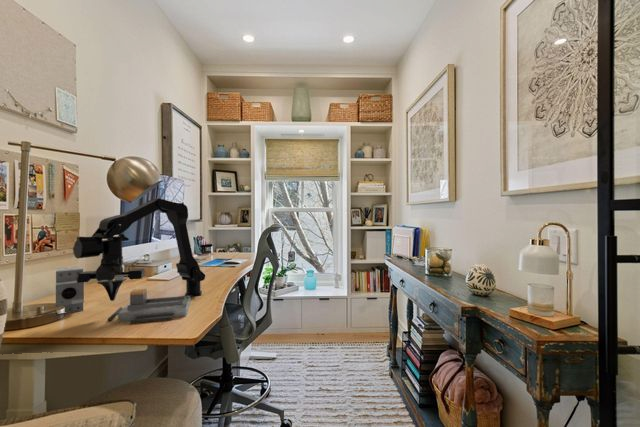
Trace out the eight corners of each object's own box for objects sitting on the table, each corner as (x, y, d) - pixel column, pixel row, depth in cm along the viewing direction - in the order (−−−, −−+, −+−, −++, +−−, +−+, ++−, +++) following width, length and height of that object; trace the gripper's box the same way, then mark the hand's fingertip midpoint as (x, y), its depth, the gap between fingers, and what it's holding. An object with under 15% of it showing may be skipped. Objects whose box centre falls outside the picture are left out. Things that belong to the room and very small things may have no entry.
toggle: (134, 302, 110) (134, 289, 110) (146, 301, 112) (146, 288, 112) (130, 306, 106) (130, 292, 106) (143, 305, 107) (143, 291, 107)
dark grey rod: (119, 310, 112) (119, 307, 112) (123, 310, 112) (123, 307, 112) (107, 321, 101) (107, 317, 101) (111, 321, 101) (111, 317, 101)
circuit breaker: (55, 319, 103) (55, 274, 103) (56, 309, 114) (56, 268, 114) (84, 314, 108) (83, 271, 108) (82, 305, 119) (82, 266, 119)
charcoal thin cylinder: (129, 324, 98) (129, 320, 98) (130, 323, 99) (130, 319, 99) (171, 320, 102) (171, 316, 102) (172, 319, 103) (172, 315, 103)
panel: (132, 308, 115) (132, 297, 115) (190, 303, 121) (190, 292, 121) (118, 322, 100) (118, 309, 100) (186, 315, 106) (185, 304, 106)
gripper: (68, 259, 96) (68, 310, 96) (137, 256, 101) (137, 304, 101) (83, 254, 106) (84, 300, 106) (145, 252, 112) (145, 295, 112)
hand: (112, 300), depth 106 cm, fingers closed
